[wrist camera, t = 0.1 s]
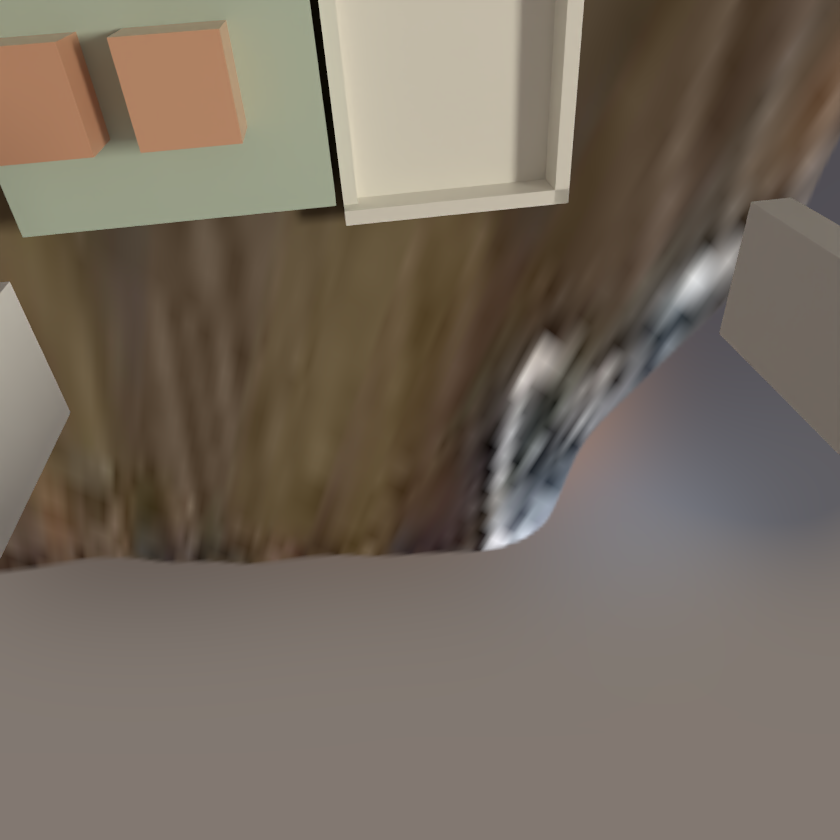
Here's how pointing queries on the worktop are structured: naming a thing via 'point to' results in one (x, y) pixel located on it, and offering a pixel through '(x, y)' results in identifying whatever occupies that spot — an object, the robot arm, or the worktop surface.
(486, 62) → the tray
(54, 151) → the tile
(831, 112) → the worktop surface
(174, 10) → the board
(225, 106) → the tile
